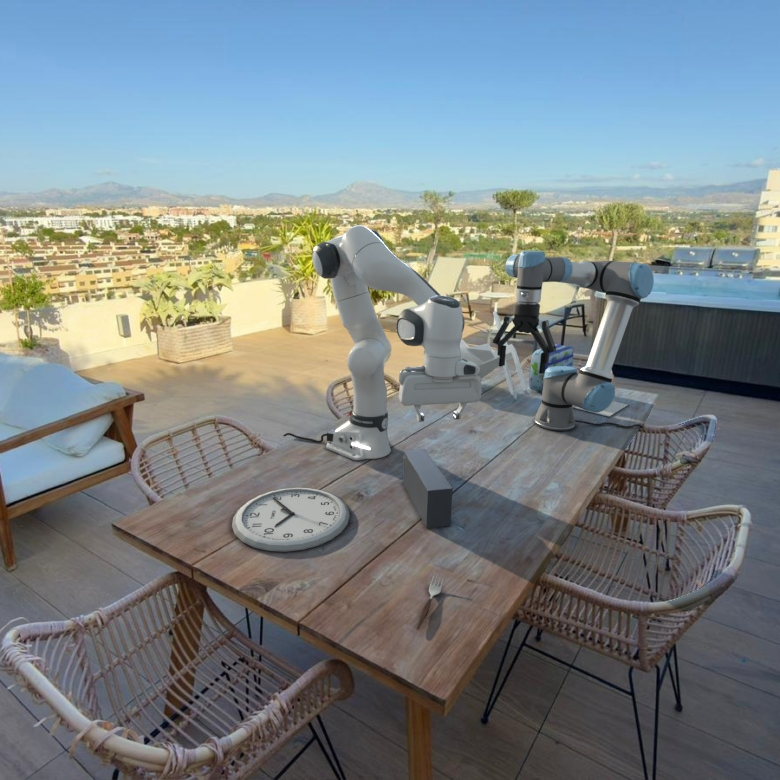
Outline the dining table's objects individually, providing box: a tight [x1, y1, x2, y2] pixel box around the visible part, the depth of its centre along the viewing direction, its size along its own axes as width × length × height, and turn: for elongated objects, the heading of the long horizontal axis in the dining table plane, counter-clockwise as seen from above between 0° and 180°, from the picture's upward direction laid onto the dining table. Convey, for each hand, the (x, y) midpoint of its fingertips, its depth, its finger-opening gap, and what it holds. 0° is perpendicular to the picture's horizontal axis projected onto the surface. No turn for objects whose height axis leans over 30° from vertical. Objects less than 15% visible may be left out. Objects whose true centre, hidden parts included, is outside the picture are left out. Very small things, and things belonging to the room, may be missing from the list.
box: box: [402, 448, 453, 529], centre depth 143 cm, size 25×6×11 cm, turn 13°
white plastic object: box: [460, 310, 531, 400], centre depth 245 cm, size 37×45×31 cm
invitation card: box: [573, 400, 629, 418], centre depth 226 cm, size 21×1×15 cm
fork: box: [416, 572, 445, 631], centre depth 105 cm, size 3×16×2 cm, turn 160°
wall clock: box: [231, 487, 351, 553], centre depth 136 cm, size 30×2×30 cm
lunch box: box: [528, 344, 574, 393], centre depth 247 cm, size 26×11×21 cm, turn 134°
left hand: (438, 419), depth 129 cm, fingers open, 8 cm apart
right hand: (521, 369), depth 167 cm, fingers open, 13 cm apart
